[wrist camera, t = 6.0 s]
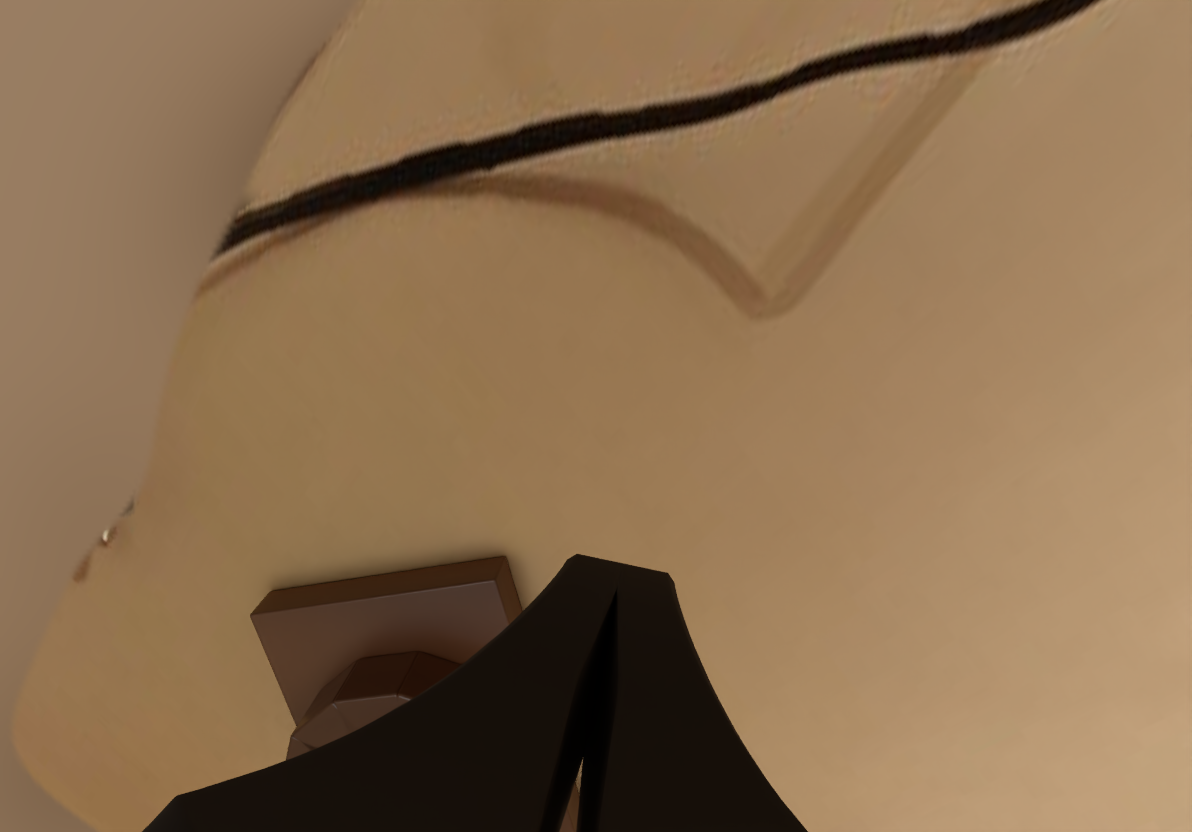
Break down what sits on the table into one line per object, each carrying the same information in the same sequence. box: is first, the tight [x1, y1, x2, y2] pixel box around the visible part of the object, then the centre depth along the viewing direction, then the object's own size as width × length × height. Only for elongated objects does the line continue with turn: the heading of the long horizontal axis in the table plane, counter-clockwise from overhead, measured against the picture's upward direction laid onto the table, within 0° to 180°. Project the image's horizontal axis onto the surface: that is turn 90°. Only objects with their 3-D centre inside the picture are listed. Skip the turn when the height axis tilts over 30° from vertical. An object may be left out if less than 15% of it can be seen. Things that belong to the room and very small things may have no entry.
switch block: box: [250, 557, 579, 832], centre depth 25 cm, size 10×7×3 cm
